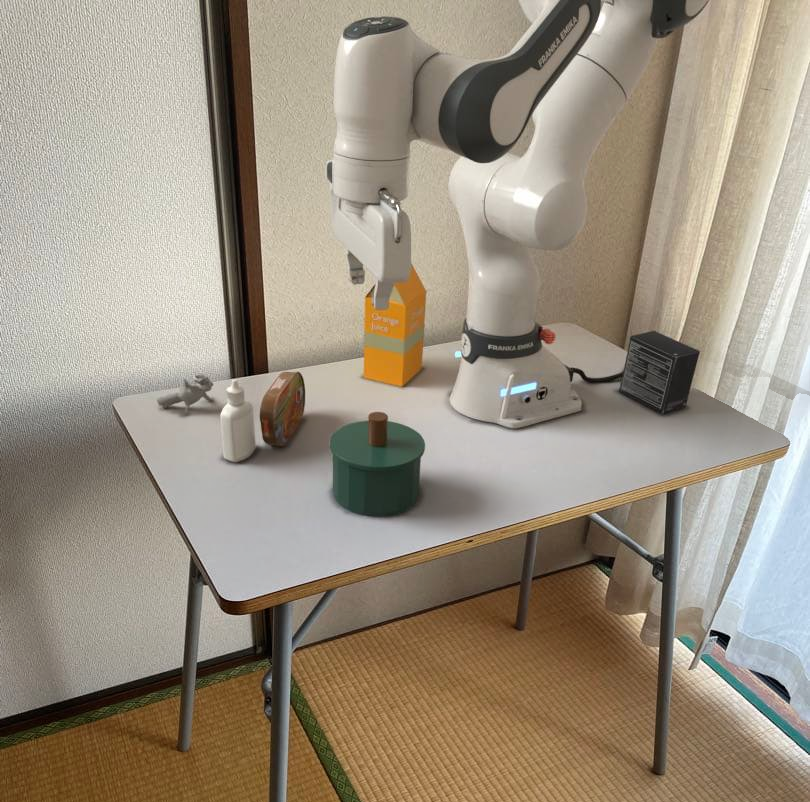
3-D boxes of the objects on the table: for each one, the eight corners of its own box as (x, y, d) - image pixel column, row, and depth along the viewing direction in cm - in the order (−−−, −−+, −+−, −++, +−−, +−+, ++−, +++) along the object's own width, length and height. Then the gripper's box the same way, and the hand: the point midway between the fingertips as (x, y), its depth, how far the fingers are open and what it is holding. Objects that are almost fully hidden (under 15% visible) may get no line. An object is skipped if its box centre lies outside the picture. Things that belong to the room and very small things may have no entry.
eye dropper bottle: (263, 455, 130) (259, 382, 123) (228, 465, 127) (222, 390, 120) (250, 443, 133) (245, 370, 126) (216, 452, 130) (209, 378, 123)
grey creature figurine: (168, 394, 145) (218, 377, 144) (177, 427, 144) (227, 411, 143) (141, 378, 135) (194, 360, 134) (150, 414, 135) (203, 396, 133)
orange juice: (422, 368, 158) (429, 258, 146) (402, 387, 151) (407, 273, 139) (383, 359, 160) (387, 250, 149) (362, 377, 153) (364, 264, 142)
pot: (400, 465, 129) (403, 420, 125) (431, 508, 120) (434, 461, 116) (323, 477, 125) (322, 431, 121) (348, 522, 116) (348, 474, 112)
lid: (404, 422, 126) (406, 389, 123) (439, 466, 116) (441, 432, 113) (318, 434, 122) (317, 400, 119) (346, 481, 112) (346, 445, 109)
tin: (278, 456, 130) (275, 405, 125) (258, 453, 130) (255, 402, 125) (307, 411, 142) (306, 363, 137) (289, 409, 142) (287, 361, 137)
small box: (688, 407, 149) (703, 350, 143) (662, 416, 146) (676, 357, 140) (642, 384, 156) (655, 328, 150) (617, 391, 153) (628, 335, 147)
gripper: (429, 201, 94) (420, 323, 102) (369, 159, 110) (366, 268, 118) (374, 203, 93) (370, 327, 100) (321, 160, 108) (321, 271, 116)
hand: (367, 295), depth 109 cm, fingers open, 8 cm apart
